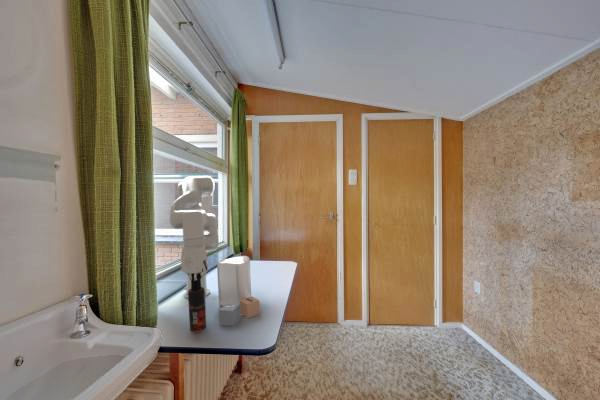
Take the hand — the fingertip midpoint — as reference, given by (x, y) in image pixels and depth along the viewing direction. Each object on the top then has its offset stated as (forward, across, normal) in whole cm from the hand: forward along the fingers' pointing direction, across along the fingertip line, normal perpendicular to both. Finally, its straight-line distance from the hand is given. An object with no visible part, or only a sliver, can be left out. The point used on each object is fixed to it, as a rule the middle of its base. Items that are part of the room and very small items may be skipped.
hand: (196, 289), depth 103 cm
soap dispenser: (+15, -1, +26) cm, 30 cm away
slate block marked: (+15, +8, +9) cm, 19 cm away
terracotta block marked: (+15, +11, +18) cm, 26 cm away
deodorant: (+15, 0, 0) cm, 15 cm away
